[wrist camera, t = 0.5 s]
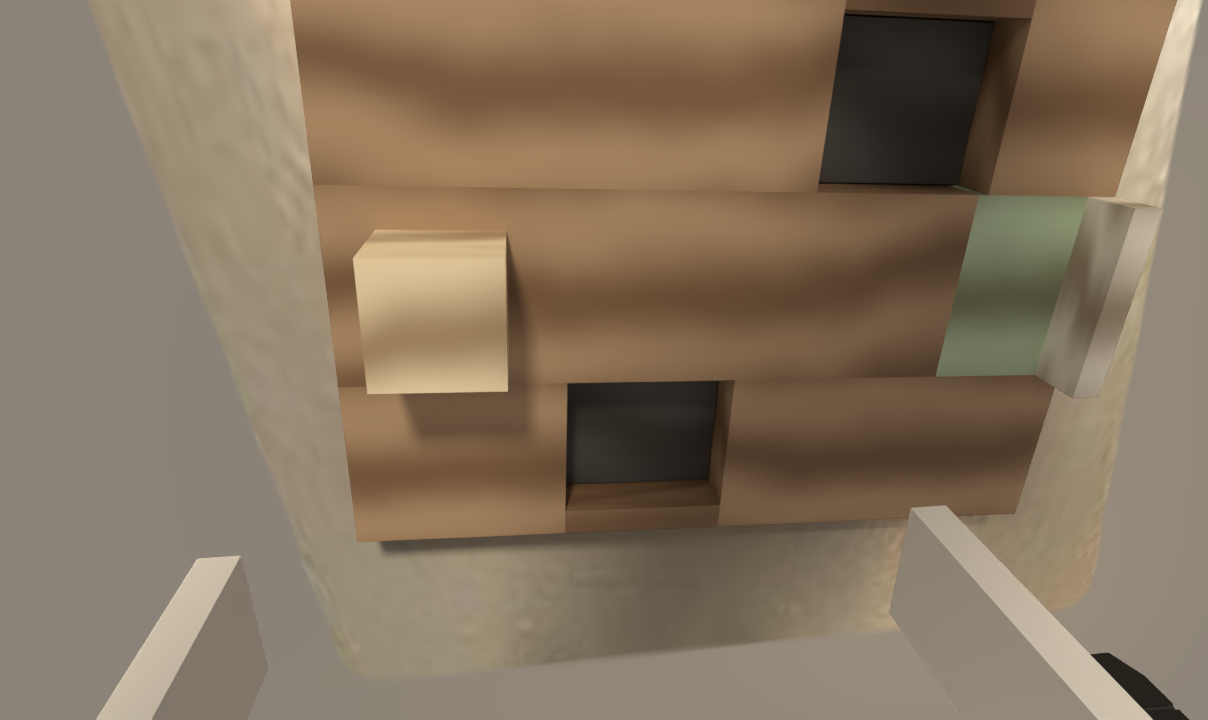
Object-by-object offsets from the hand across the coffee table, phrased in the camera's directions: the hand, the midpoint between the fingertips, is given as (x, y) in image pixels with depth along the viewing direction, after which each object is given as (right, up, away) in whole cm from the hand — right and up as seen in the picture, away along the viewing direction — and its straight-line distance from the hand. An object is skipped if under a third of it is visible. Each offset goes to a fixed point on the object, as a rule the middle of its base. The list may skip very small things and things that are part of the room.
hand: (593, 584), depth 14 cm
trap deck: (+6, +9, +24) cm, 27 cm away
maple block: (-8, +8, +20) cm, 23 cm away
